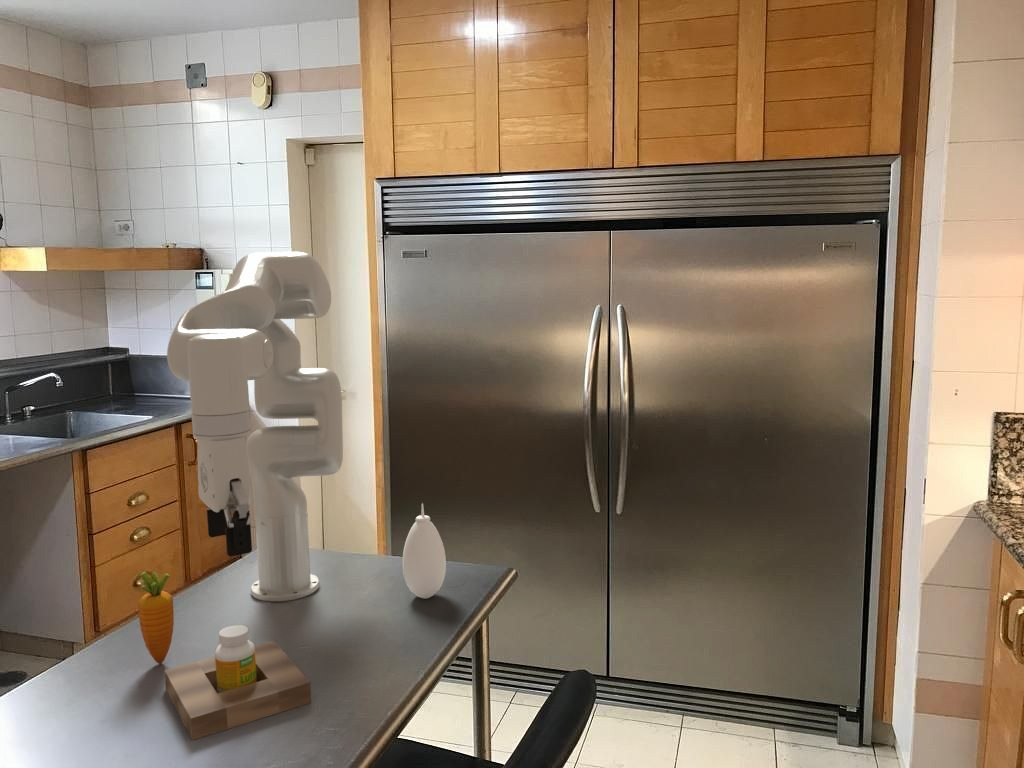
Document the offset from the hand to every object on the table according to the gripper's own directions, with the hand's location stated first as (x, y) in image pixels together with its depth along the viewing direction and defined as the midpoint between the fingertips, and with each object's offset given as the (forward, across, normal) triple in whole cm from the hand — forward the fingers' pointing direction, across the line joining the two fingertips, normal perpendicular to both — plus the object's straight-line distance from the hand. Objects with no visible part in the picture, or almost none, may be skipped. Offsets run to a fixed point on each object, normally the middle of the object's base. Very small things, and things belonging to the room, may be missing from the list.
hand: (229, 544), depth 114 cm
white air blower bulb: (+23, -16, +38) cm, 47 cm away
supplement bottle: (+22, 0, 0) cm, 23 cm away
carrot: (+23, -16, -8) cm, 29 cm away
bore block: (+22, +1, 0) cm, 22 cm away
